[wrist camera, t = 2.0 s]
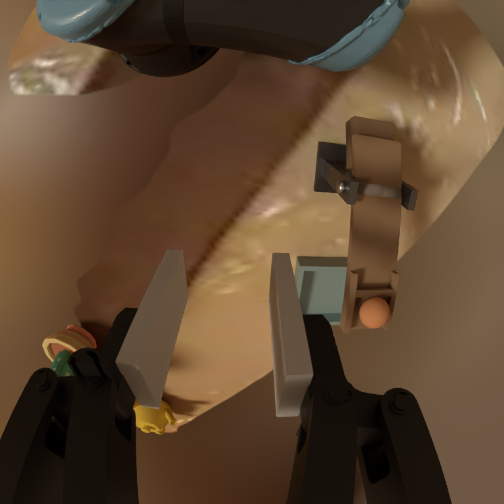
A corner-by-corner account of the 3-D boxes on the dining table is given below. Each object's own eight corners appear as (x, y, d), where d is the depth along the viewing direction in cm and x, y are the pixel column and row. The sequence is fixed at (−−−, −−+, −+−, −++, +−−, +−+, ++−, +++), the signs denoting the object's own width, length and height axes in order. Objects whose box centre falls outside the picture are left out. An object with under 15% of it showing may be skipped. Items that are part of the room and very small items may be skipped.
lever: (342, 122, 30) (357, 109, 24) (385, 129, 30) (404, 120, 25) (332, 316, 34) (345, 334, 29) (373, 314, 34) (390, 330, 29)
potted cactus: (86, 361, 60) (56, 436, 39) (47, 323, 54) (4, 397, 32) (120, 352, 57) (87, 441, 35) (75, 306, 50) (24, 396, 28)
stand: (318, 141, 35) (346, 158, 24) (382, 150, 35) (427, 171, 24) (313, 189, 38) (336, 224, 28) (375, 195, 38) (414, 229, 28)
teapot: (182, 397, 66) (175, 431, 56) (172, 414, 72) (166, 443, 63) (132, 380, 63) (121, 413, 54) (128, 399, 69) (120, 428, 60)
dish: (297, 256, 44) (299, 266, 41) (369, 258, 44) (374, 267, 41) (288, 315, 50) (290, 325, 47) (352, 314, 50) (356, 323, 48)
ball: (359, 291, 29) (370, 310, 25) (386, 290, 29) (398, 308, 25) (352, 315, 30) (361, 336, 27) (378, 314, 30) (388, 333, 27)
